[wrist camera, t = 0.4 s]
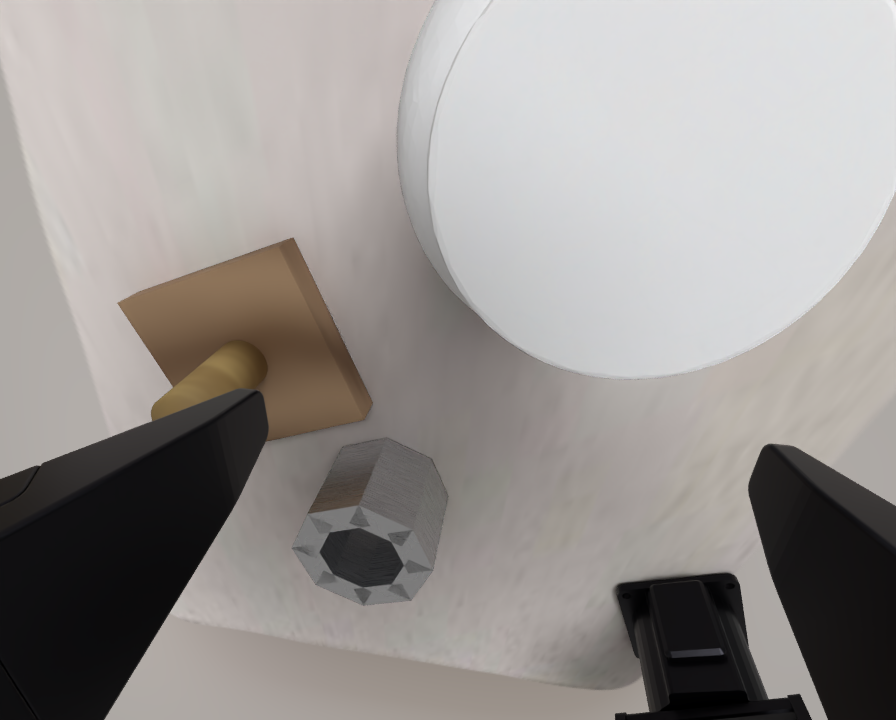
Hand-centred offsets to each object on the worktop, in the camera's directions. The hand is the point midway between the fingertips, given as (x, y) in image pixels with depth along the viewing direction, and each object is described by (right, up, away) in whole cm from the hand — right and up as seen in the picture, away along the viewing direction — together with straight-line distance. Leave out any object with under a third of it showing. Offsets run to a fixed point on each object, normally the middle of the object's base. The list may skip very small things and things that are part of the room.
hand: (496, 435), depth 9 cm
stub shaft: (-10, +2, +16) cm, 19 cm away
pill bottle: (+4, +10, +10) cm, 15 cm away
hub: (-4, -6, +19) cm, 21 cm away
